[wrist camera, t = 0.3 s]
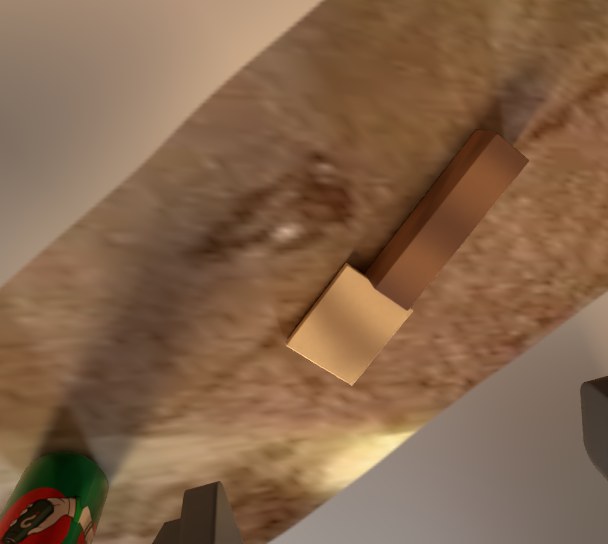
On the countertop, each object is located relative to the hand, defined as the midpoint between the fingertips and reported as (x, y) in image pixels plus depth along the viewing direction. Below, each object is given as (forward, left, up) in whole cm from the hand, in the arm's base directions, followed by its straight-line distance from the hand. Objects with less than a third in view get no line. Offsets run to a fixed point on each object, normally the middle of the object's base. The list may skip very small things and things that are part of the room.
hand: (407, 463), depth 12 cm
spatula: (+3, +5, -19) cm, 20 cm away
